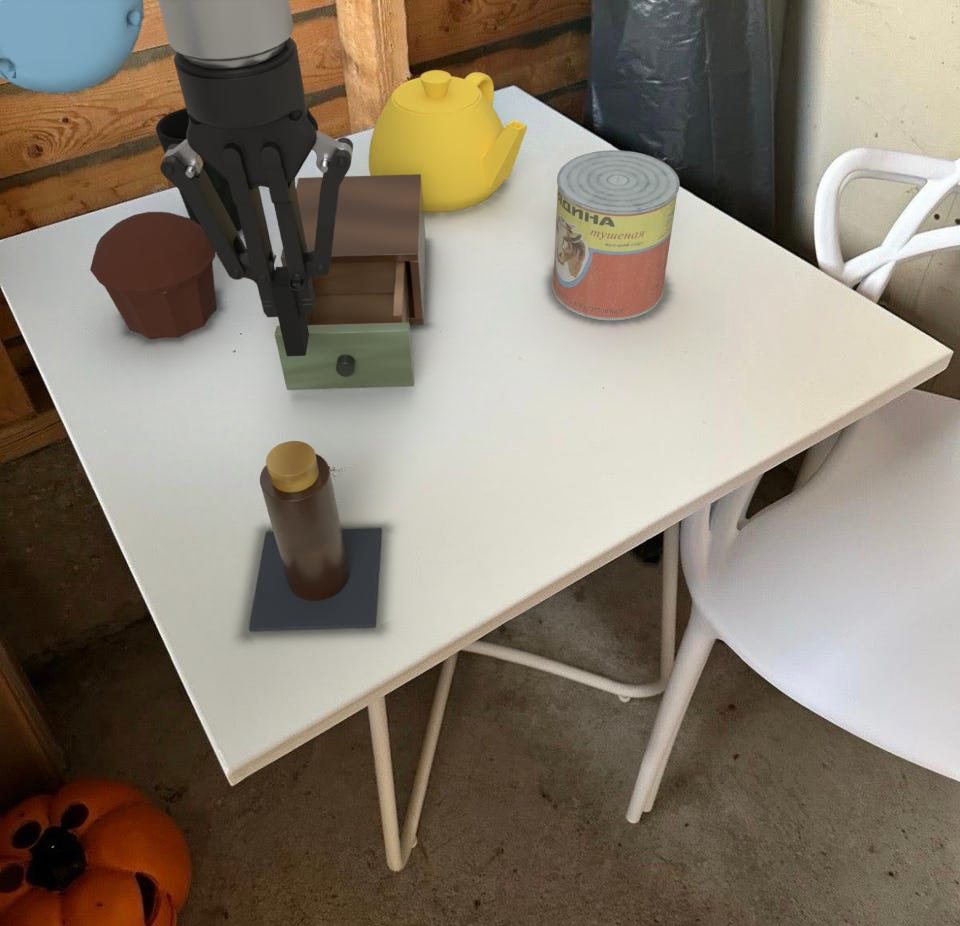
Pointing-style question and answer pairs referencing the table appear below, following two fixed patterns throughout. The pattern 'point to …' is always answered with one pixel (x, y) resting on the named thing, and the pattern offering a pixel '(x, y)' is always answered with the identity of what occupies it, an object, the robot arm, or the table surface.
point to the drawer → (355, 330)
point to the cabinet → (373, 225)
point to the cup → (175, 131)
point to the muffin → (158, 273)
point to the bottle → (305, 520)
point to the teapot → (446, 139)
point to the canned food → (613, 233)
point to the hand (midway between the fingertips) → (298, 345)
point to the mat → (341, 611)
